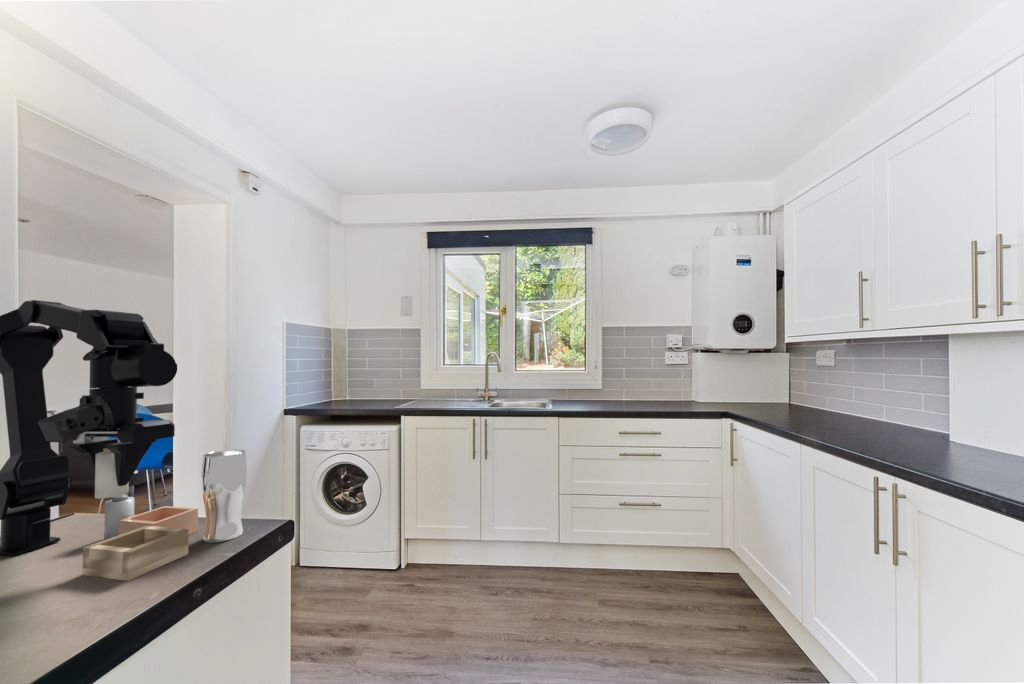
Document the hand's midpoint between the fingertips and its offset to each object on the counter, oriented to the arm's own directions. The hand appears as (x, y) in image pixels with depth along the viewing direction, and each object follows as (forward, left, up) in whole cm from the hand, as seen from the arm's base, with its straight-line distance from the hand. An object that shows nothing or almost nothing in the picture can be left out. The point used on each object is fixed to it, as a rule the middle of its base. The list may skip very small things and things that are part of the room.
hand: (112, 485), depth 70 cm
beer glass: (+9, +12, -12) cm, 19 cm away
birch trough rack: (+5, 0, -12) cm, 13 cm away
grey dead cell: (-10, +8, -12) cm, 17 cm away
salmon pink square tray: (-2, +9, -12) cm, 15 cm away
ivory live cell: (0, 0, -2) cm, 2 cm away
